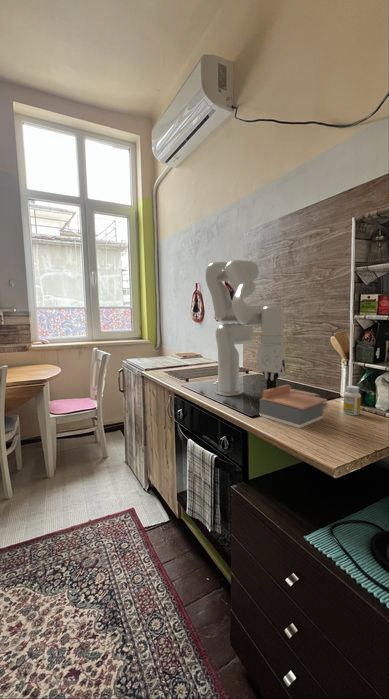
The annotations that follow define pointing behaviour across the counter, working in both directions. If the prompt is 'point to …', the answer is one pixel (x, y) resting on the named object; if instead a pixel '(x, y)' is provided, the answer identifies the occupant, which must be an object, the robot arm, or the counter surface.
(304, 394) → the packaged product
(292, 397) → the mailer lid
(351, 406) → the supplement bottle
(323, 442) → the counter surface
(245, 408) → the counter surface
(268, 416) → the tray
